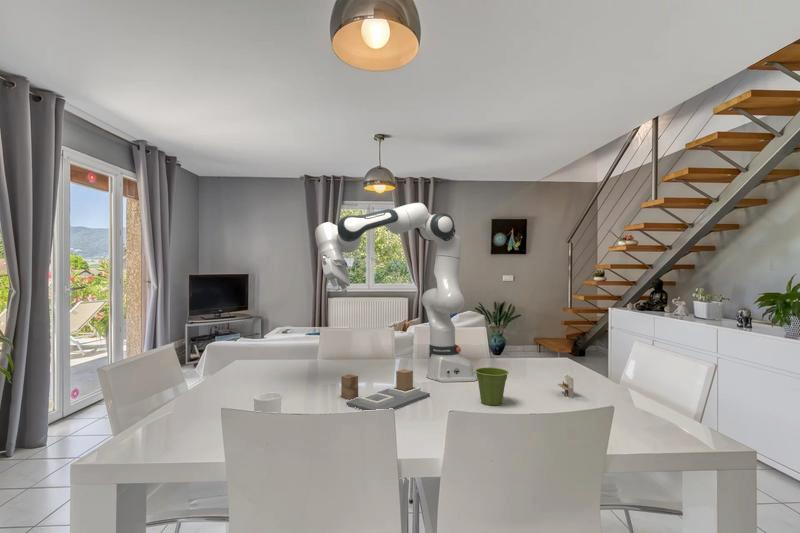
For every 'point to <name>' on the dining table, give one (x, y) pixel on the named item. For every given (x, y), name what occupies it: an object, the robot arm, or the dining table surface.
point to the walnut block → (349, 386)
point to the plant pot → (491, 384)
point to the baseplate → (392, 394)
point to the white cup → (268, 402)
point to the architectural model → (568, 386)
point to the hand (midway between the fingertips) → (341, 292)
